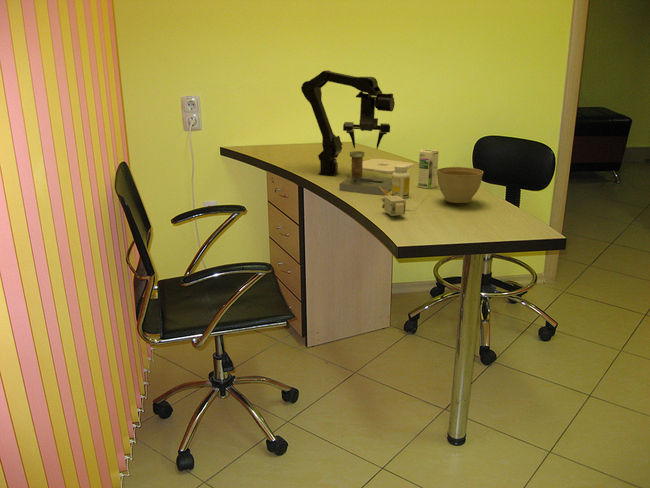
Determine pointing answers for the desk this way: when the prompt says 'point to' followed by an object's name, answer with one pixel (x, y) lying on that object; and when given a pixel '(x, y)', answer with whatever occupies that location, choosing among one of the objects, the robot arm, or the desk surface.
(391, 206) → the electrical component
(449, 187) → the planter bowl
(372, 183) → the keyhole plate
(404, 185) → the pill bottle
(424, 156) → the syrup box
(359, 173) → the walnut peg
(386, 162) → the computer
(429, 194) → the desk surface
